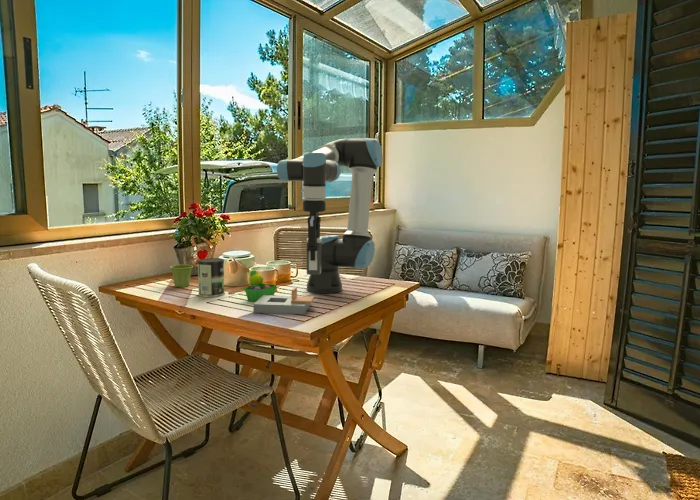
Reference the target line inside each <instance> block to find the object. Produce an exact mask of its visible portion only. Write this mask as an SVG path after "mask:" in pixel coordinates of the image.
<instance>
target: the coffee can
mask: <svg viewBox="0 0 700 500" xmlns="http://www.w3.org/2000/svg"><path fill="white" fill-rule="evenodd" d="M196 262H197V279H198V280H197V282H198V284H197V285H198V296H199V297H201V298H215V297H216V298H218V297H221V296H222V297H223V296H225V294H226V293H225V266H224V264H225V260H224V258H217V257H216V258H215V257H214V258H213V257H208V258H201V259H198V260H197V261H196Z"/></svg>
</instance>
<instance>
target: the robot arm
mask: <svg viewBox="0 0 700 500" xmlns="http://www.w3.org/2000/svg"><path fill="white" fill-rule="evenodd" d="M382 163H383V151H382V146H381V143H380V141H379V140H378V139H377V138H369V137H365V138H340V139H336V140H333V141H330V142H327V143H325V144H323V145H320V147H319V148H318V149H317V150H313V151H312V152H311V151H309V152H305V153H304V154H302V155H301V156H299V157H296V158H294V159H281V160H279V161H278V163H277V166H276V175H277V178H278V179H279V180H280V181H282V182H283V181H284V182H302V183H303V184H302V187H303V189H301V193H303V194H302V198H303V199H304V200H303V201H302V211H304V212H309V216H308V217H307V238H308V249H307V248H306V252H307V251H309V270H317V251H316V250H317V238H322V242H321V274H320V275H309V277H308V279H307V283H306V291H308V292H309V293H315V294H334V293H340V292H342V291H343V283H342V280H341V277H340V274H339V268H349V269H350V268H351V269H367V268H368V267H370V266H371V264H372V262H373V259H374V256H375V252H376V248H375V246H376V245H375V242H374V241H373V240H372V238H371V237H372V236H371V235H370V234H369V231H368V230H369V220H370V210H371V209H370V208H371V198H372V196H371V195H372V186H373V177H374V175H375V174H376V173H377V170H378V169H377V168H380V167H381V166H382V165H383V164H382ZM341 167H347V168H348V170H349V173H351V182H350V193H349V195H350V196H349V206H348V207H349V208H348V214H347V215H348V216H347V226H346V228H347V229H346V231H345V232H344V233H342V238H340V236H339V235H338V234H332V235H331V234H328V235H321V221H322V219H321V216H320V213H323V212H326V208H327V207H326V206H327V205H326V202H327V201H326V200H325V199H326V198H327V197H326V196H327V185H326V184H327V183H331V182H334V181H336V180H338V179H339V178H340V176H341V174H342V173H341V171H342V170H341Z"/></svg>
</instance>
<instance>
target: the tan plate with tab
mask: <svg viewBox="0 0 700 500" xmlns="http://www.w3.org/2000/svg"><path fill="white" fill-rule="evenodd" d="M291 296H292V300H291V303H311V304H312V303H313V301H314V300H315V296H314V295H313V296H307V295H298V287H297V286H294V287H293V288H292V289H291Z"/></svg>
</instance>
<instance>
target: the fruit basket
mask: <svg viewBox="0 0 700 500" xmlns="http://www.w3.org/2000/svg"><path fill="white" fill-rule="evenodd" d="M248 281H249V284H250V285H249V286H245V287H244V288H243V289H244V292H245V295H246V299H247V301H249V302H254V303H255V302H256V301H257V300H259V299H260V298H261V297H262V296H263V295H275V292H276V289H277V285H276V284H272V283H266V282H265V283H264V277H263V275H262V274H261V273H260V272H258V271H257V270H256V269H252V270H250V272H249V280H248Z"/></svg>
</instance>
